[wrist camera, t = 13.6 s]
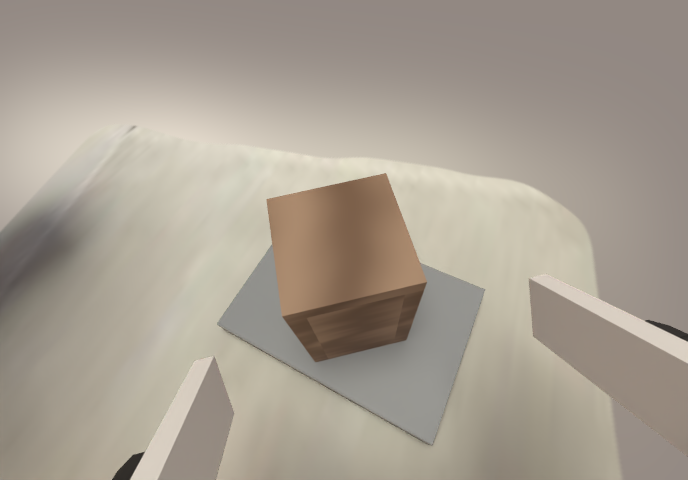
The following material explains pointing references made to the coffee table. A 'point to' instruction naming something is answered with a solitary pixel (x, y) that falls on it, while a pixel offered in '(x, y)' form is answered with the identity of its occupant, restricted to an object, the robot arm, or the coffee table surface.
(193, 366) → the robot arm
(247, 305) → the stub plate
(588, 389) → the coffee table surface
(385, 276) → the brown wooden block
